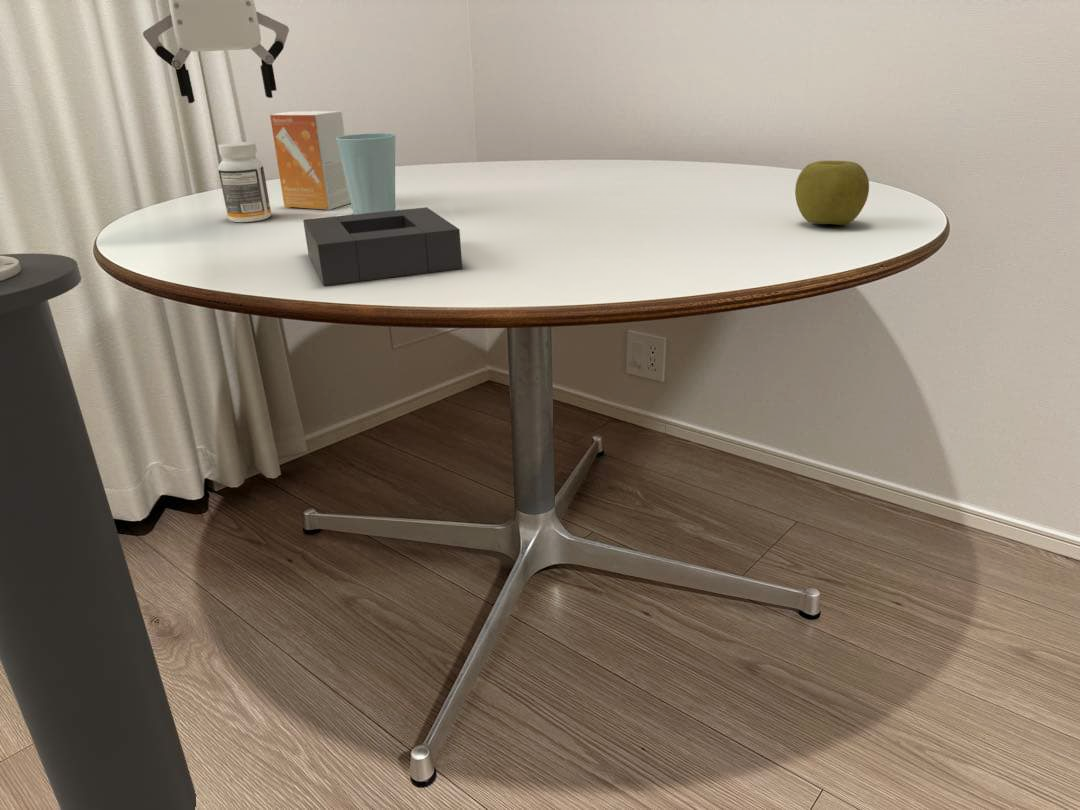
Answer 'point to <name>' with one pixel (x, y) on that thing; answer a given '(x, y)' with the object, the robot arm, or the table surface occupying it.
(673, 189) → the table surface
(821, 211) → the apple
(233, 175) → the pill bottle
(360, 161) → the cup
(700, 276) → the table surface
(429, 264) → the dock
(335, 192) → the small box
